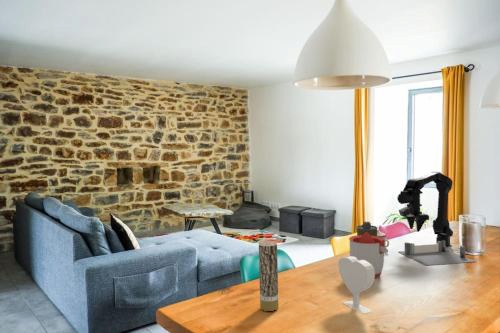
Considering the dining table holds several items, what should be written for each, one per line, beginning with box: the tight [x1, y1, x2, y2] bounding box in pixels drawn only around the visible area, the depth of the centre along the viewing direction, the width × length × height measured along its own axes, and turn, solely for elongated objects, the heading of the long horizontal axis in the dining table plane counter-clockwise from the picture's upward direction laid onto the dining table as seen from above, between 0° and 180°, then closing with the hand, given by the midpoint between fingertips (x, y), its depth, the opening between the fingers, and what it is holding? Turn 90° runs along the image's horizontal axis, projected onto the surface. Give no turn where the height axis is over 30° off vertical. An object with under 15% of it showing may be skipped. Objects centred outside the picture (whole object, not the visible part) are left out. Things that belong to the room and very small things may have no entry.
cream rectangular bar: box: [409, 241, 442, 254], centre depth 217 cm, size 18×2×5 cm, turn 99°
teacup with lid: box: [377, 228, 390, 248], centre depth 226 cm, size 12×9×12 cm
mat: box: [398, 248, 477, 267], centre depth 211 cm, size 27×26×1 cm
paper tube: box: [258, 239, 279, 312], centre depth 149 cm, size 7×7×25 cm
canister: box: [356, 221, 378, 236], centre depth 208 cm, size 11×10×20 cm
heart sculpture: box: [338, 255, 376, 314], centre depth 149 cm, size 16×5×18 cm, turn 28°
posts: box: [404, 240, 466, 258], centre depth 211 cm, size 26×14×6 cm, turn 99°
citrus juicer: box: [348, 232, 389, 279], centre depth 183 cm, size 16×17×20 cm
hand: (414, 230), depth 221 cm, fingers open, 7 cm apart
